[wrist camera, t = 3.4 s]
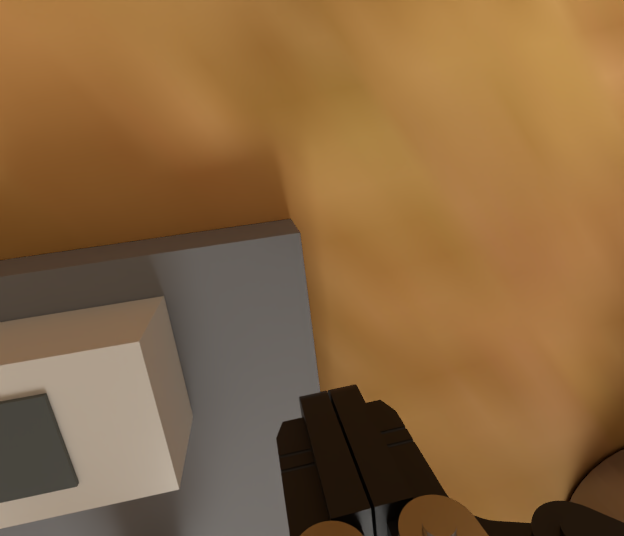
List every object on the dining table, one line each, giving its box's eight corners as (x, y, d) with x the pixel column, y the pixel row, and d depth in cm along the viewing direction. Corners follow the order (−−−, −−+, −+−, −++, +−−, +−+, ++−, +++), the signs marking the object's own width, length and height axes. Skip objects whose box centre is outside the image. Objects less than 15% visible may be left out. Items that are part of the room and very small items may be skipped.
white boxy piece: (163, 295, 14) (137, 343, 10) (193, 416, 15) (178, 493, 12) (-24, 326, 13) (-119, 388, 10) (26, 449, 15) (-41, 541, 11)
